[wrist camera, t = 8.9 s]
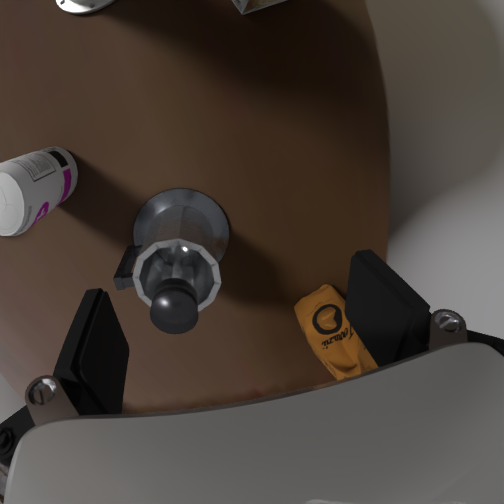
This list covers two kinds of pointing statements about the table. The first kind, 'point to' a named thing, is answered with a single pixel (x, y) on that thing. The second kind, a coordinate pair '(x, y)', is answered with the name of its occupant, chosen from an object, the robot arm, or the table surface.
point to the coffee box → (253, 5)
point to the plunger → (175, 294)
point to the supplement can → (34, 187)
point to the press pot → (172, 234)
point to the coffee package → (332, 333)
